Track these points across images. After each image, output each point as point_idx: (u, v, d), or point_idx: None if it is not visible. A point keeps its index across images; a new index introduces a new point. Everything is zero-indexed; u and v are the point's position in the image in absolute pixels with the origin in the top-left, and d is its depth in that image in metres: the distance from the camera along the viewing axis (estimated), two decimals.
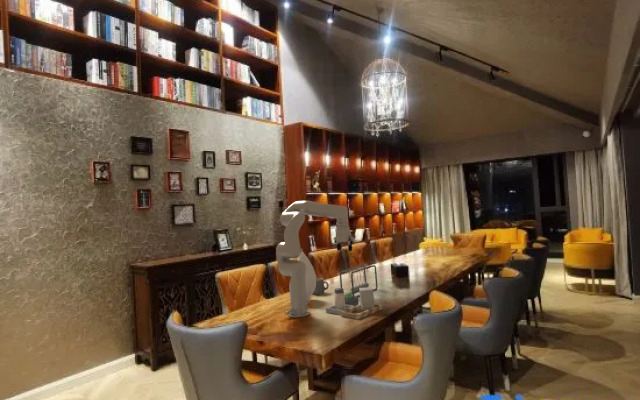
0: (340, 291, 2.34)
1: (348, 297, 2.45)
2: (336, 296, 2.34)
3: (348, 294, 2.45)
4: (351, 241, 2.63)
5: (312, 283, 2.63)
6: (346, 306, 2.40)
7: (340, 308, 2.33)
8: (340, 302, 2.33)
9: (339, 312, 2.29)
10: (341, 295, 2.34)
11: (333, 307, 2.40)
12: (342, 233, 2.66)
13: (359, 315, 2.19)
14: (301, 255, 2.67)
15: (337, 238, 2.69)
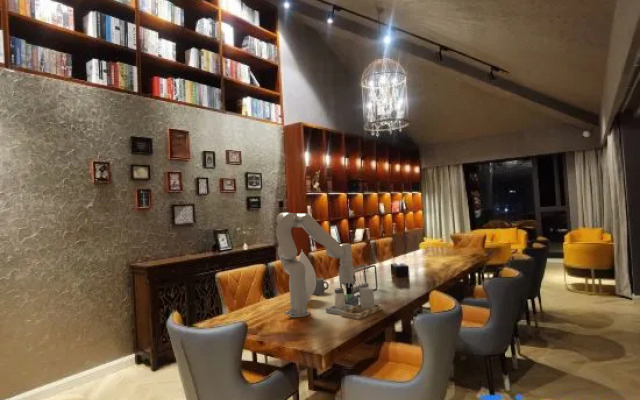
0: (340, 291, 2.34)
1: (348, 298, 2.45)
2: (336, 296, 2.34)
3: (348, 295, 2.45)
4: (350, 284, 2.45)
5: (312, 283, 2.63)
6: (346, 306, 2.40)
7: (340, 308, 2.33)
8: (340, 302, 2.33)
9: (339, 312, 2.29)
10: (341, 295, 2.34)
11: (333, 307, 2.40)
12: (346, 273, 2.44)
13: (359, 315, 2.19)
14: (301, 255, 2.67)
15: (340, 278, 2.48)
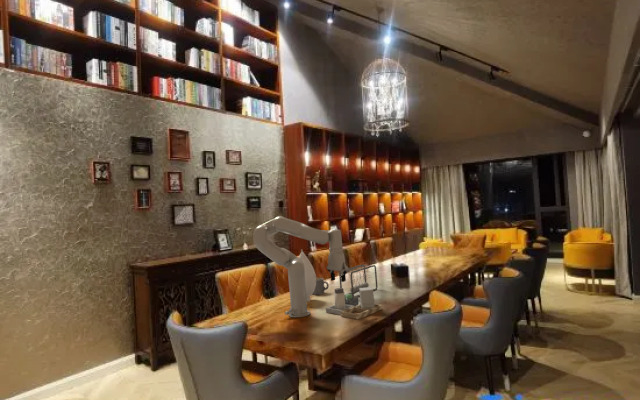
0: (340, 291, 2.34)
1: None
2: (336, 296, 2.34)
3: (348, 296, 2.45)
4: (344, 271, 2.32)
5: (312, 283, 2.63)
6: (346, 306, 2.40)
7: (340, 308, 2.33)
8: (340, 302, 2.33)
9: (339, 312, 2.29)
10: (341, 295, 2.34)
11: (333, 307, 2.40)
12: (335, 260, 2.34)
13: (359, 315, 2.19)
14: (301, 255, 2.67)
15: (330, 266, 2.37)
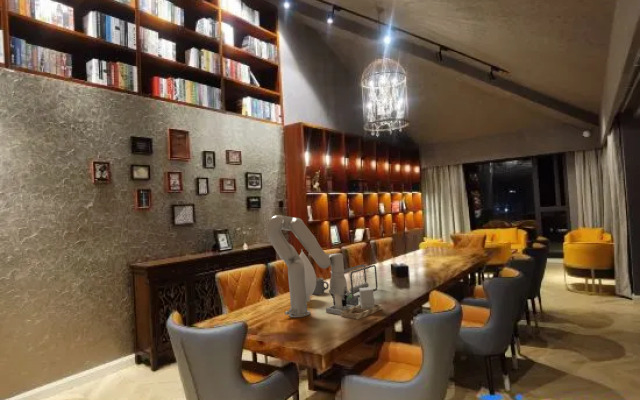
0: None
1: None
2: (336, 296, 2.34)
3: (348, 296, 2.45)
4: (345, 296, 2.32)
5: (312, 283, 2.63)
6: (346, 306, 2.40)
7: (340, 308, 2.33)
8: (340, 302, 2.33)
9: (339, 312, 2.29)
10: None
11: (333, 307, 2.40)
12: (337, 285, 2.33)
13: (359, 315, 2.19)
14: (301, 255, 2.67)
15: (331, 290, 2.37)
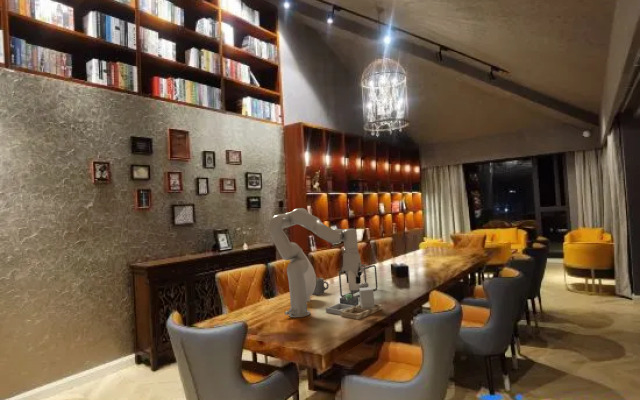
0: None
1: None
2: (350, 273, 2.24)
3: (348, 296, 2.45)
4: (359, 272, 2.22)
5: (312, 283, 2.63)
6: (346, 306, 2.40)
7: (354, 285, 2.23)
8: (354, 279, 2.23)
9: (339, 312, 2.29)
10: None
11: (333, 307, 2.40)
12: (351, 261, 2.23)
13: (359, 315, 2.19)
14: None
15: (345, 266, 2.26)
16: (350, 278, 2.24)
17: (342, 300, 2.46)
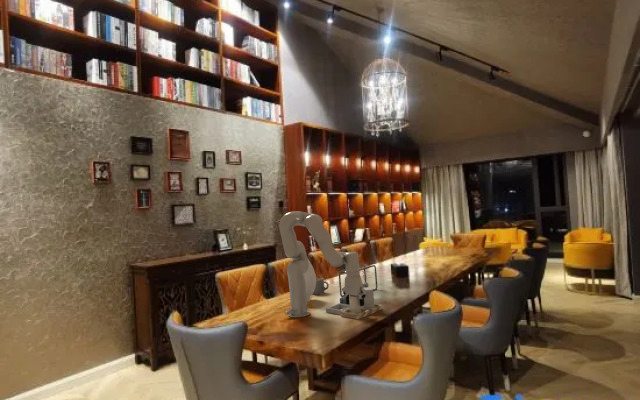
0: None
1: None
2: (351, 299, 2.24)
3: None
4: (363, 295, 2.21)
5: (312, 283, 2.63)
6: (346, 306, 2.40)
7: (355, 311, 2.23)
8: (356, 306, 2.23)
9: (339, 312, 2.29)
10: (356, 298, 2.24)
11: (333, 307, 2.40)
12: (352, 285, 2.23)
13: (359, 315, 2.19)
14: None
15: (346, 290, 2.26)
16: (352, 304, 2.24)
17: (342, 300, 2.46)
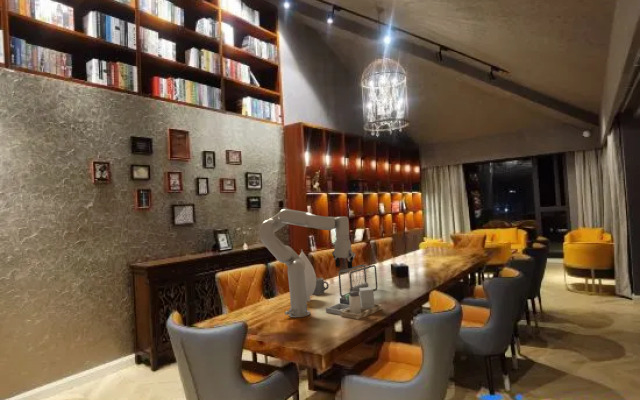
0: (355, 294, 2.24)
1: None
2: (351, 299, 2.24)
3: (348, 296, 2.45)
4: (351, 257, 2.29)
5: (312, 283, 2.63)
6: (346, 306, 2.40)
7: (355, 311, 2.23)
8: (356, 306, 2.23)
9: (339, 312, 2.29)
10: (356, 298, 2.24)
11: (333, 307, 2.40)
12: (341, 247, 2.32)
13: (359, 315, 2.19)
14: (301, 255, 2.67)
15: (336, 253, 2.35)
16: (352, 304, 2.24)
17: (342, 300, 2.46)
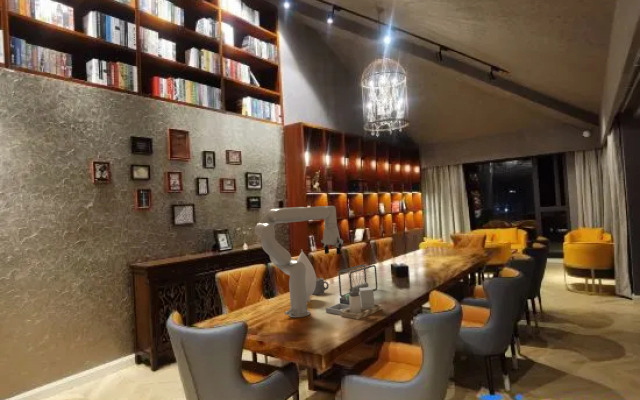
0: (355, 294, 2.24)
1: None
2: (351, 299, 2.24)
3: (348, 296, 2.45)
4: (339, 244, 2.42)
5: (312, 283, 2.63)
6: (346, 306, 2.40)
7: (355, 311, 2.23)
8: (356, 306, 2.23)
9: (339, 312, 2.29)
10: (356, 298, 2.23)
11: (333, 307, 2.40)
12: (330, 235, 2.45)
13: (359, 315, 2.19)
14: (301, 255, 2.67)
15: (325, 240, 2.48)
16: (352, 304, 2.24)
17: (342, 300, 2.46)
